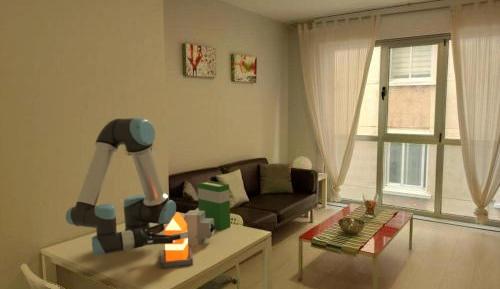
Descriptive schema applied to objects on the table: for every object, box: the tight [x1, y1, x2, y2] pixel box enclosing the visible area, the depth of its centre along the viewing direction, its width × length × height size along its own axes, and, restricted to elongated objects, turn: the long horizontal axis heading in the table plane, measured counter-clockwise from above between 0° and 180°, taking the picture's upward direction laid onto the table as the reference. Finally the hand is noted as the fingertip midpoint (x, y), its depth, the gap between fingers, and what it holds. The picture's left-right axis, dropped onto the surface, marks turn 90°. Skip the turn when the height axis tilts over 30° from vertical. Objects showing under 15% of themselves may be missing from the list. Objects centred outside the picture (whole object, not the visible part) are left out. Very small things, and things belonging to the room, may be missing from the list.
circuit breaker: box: [183, 210, 216, 246], centre depth 179 cm, size 8×14×15 cm, turn 78°
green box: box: [197, 180, 231, 232], centre depth 204 cm, size 18×7×24 cm, turn 48°
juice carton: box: [164, 211, 189, 261], centre depth 158 cm, size 8×9×20 cm
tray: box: [160, 246, 194, 270], centre depth 160 cm, size 14×13×2 cm
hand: (182, 229), depth 160 cm, fingers open, 13 cm apart
